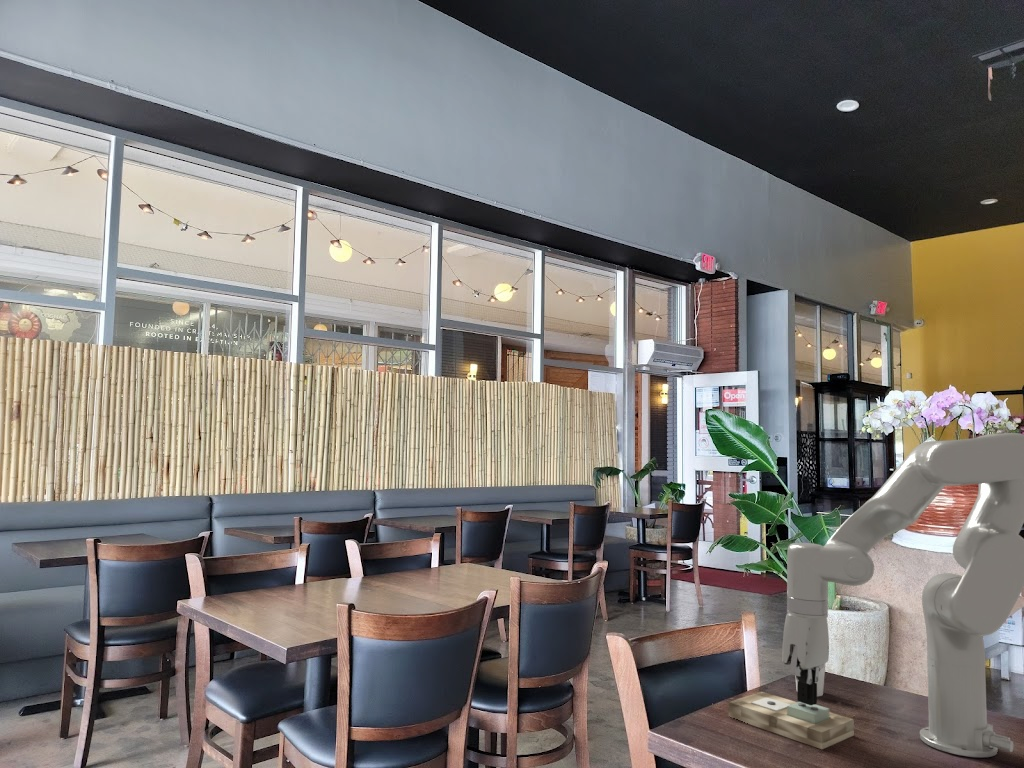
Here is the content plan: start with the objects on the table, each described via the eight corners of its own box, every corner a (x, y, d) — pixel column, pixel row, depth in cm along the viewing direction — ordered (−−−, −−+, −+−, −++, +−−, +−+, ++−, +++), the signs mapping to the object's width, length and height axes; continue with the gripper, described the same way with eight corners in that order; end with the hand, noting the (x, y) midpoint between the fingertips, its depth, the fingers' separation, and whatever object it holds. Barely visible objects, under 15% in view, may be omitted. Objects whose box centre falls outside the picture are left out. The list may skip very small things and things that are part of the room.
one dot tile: (791, 716, 149) (791, 703, 149) (776, 721, 145) (776, 709, 146) (766, 708, 153) (766, 696, 153) (751, 713, 150) (751, 701, 150)
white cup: (828, 698, 164) (828, 666, 165) (796, 695, 165) (796, 663, 166) (822, 689, 171) (822, 658, 171) (791, 686, 172) (791, 655, 173)
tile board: (853, 735, 142) (853, 719, 142) (822, 749, 135) (822, 732, 135) (761, 705, 158) (761, 691, 158) (728, 717, 150) (728, 701, 150)
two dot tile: (829, 720, 143) (829, 707, 143) (814, 726, 139) (814, 713, 139) (802, 711, 147) (802, 699, 147) (787, 717, 144) (787, 704, 144)
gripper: (809, 599, 153) (808, 691, 151) (769, 607, 143) (768, 704, 142) (844, 606, 147) (844, 701, 145) (805, 614, 138) (805, 716, 136)
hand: (807, 702), depth 144 cm, fingers closed
